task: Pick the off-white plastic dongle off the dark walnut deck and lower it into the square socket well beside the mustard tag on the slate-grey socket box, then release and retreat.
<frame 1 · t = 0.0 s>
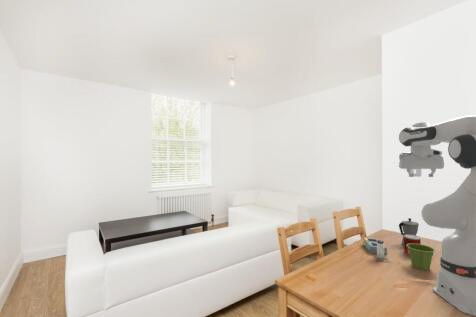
hand: (420, 176, 127), 48 cm above the table, fingers open, 8 cm apart
deck: (380, 260, 131), on the table
plant pot: (420, 268, 120), on the table
coffeepot: (408, 245, 153), on the table
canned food: (412, 255, 138), on the table
plug: (380, 258, 131), point 1 cm above the table, touching deck
socket box: (374, 250, 145), on the table
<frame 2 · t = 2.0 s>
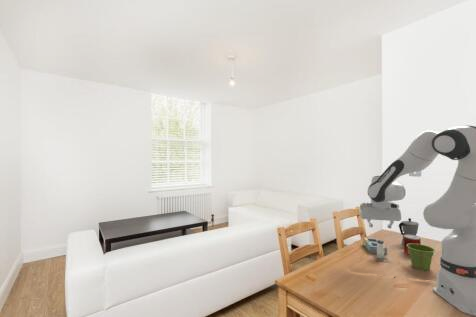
hand: (380, 227, 131), 19 cm above the table, fingers open, 8 cm apart
nothing on the table moved.
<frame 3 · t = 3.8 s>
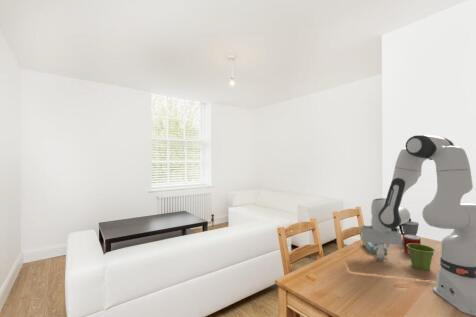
hand: (380, 250, 131), 6 cm above the table, fingers closed on plug, 4 cm apart
plug: (380, 258, 131), point 1 cm above the table, touching deck, gripper
everything else where it was.
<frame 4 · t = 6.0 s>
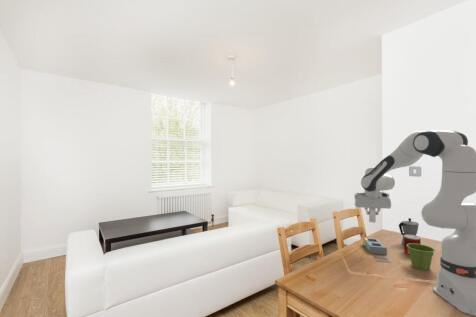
hand: (372, 214, 146), 23 cm above the table, fingers closed on plug, 4 cm apart
plug: (372, 221, 146), point 18 cm above the table, touching gripper
everything else where it was.
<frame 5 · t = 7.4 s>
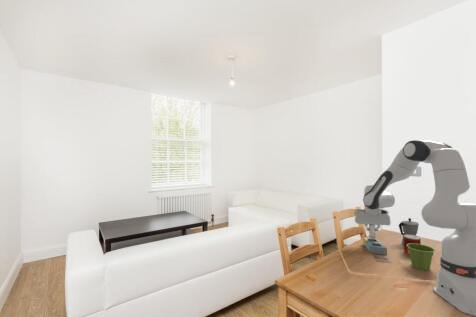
hand: (372, 230, 149), 11 cm above the table, fingers closed on plug, 4 cm apart
plug: (372, 237, 149), point 7 cm above the table, touching gripper
everything else where it was.
when the fingers open (8 cm above the table, at t = 8.4 s): plug drops 2 cm, resting on socket box.
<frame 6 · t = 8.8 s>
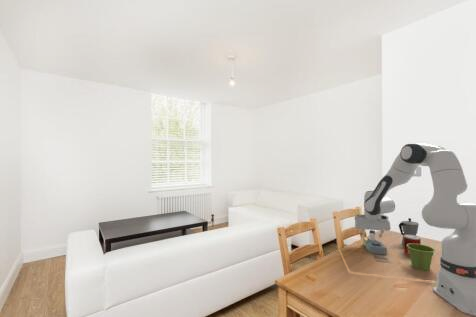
hand: (372, 236, 149), 8 cm above the table, fingers open, 8 cm apart
plug: (372, 246, 149), point 1 cm above the table, touching socket box
everything else where it was.
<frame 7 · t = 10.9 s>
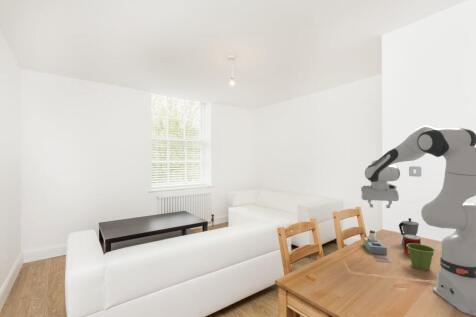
hand: (379, 207, 144), 27 cm above the table, fingers open, 8 cm apart
nothing on the table moved.
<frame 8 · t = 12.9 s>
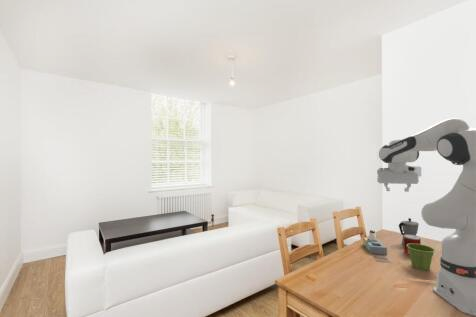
hand: (397, 191, 134), 39 cm above the table, fingers open, 8 cm apart
nothing on the table moved.
at the end: plug 0.1 cm from the target spot on the socket box, point 1.0 cm above the socket box's base; plug tilted 1°; the gripper is holding nothing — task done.
